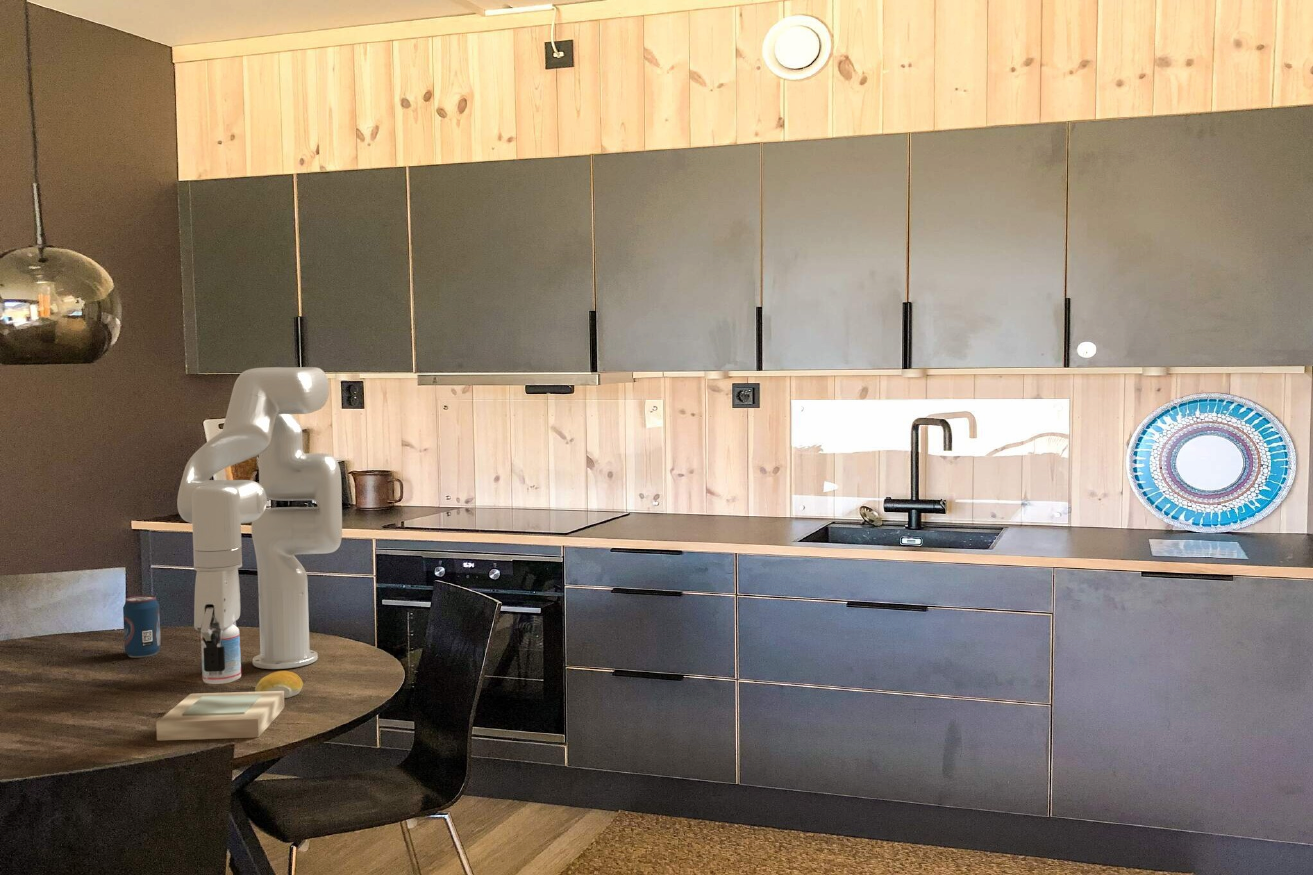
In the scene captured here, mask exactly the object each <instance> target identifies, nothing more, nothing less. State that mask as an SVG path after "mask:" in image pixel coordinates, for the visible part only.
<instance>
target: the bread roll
mask: <svg viewBox="0 0 1313 875" xmlns="http://www.w3.org/2000/svg"><path fill="white" fill-rule="evenodd" d="M303 685H304V683H303V680H302V678H301V677H300V675H298V674H297V673H295V672H293V671H288V670H278V671H274V672H272V673H269V674H267V675H265V676H264V677H262V678H261V679H260V680H259V681H258V682H257V684H256V685H255V688H254V692H264V691H284V699H289V698H292V697H295V696H297V695H299V694H300V692H301V691H302V689H303Z"/></svg>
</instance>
